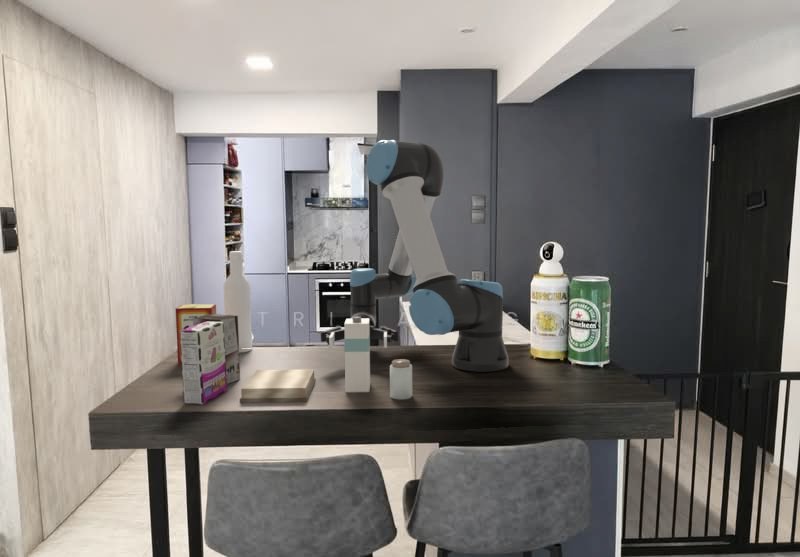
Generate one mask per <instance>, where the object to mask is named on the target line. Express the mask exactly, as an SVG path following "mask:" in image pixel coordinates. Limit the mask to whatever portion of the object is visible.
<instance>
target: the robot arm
mask: <svg viewBox="0 0 800 557" xmlns="http://www.w3.org/2000/svg"><path fill="white" fill-rule="evenodd" d="M367 156H368V157H367V160H366V165H365V166H366V167H365V169H366V175H367V178H368V180H369V181H370V182H371V183H372V184H374V185H375V186H377V185H379V186H380V187H379V188H380V190H381V193H382V195H383V197H384V198H386V199H389V201H390V202H391V206H392V210H393V212H394V215H395V219H396V223H397V225H398V228H399V230H398V233H397V237H396V240H395V244H394V248H393V251H392V255H391V258H390V261H389V262H390V263H389V265H388V269H387V271H386V273H376V270H375V269H374V268H367V267H366V268H365V267H364V268H361V267H360V268H354V269H352V270H351V271H350V276H349V277H350V280H349V285H350V288H349V290H350V318H353V317H361V318H369V326H370V340H380V341H383V348H384V349H386V348H387V347H388V343H392V341H393V342H398V341H399V331H397V330H396V329H393V328H389V327H387V326H386V325H381V326H380V327H379V328H377V327H376V324H377V310H376V308H377V300H379V299H380V300H381V299H387V298H388V299H389V298H398V297H399V298H402V297H405V296H410V295H411V296H410V298H409V305H408V310H409V315H410V319H411V320H412V323H413V324H414V326H415V327H416V328H417V329H418V330H419V331H420V332H422V333H424V334H426V335H429V336H435V335H436V336H441V335H442V336H443V335H446V334H449V333H455V332H458V338H457V340H456V343H455V347H454V351H453V353H452V356H451V365H452V366H453V367H454V368H456V369H458V370H461V371H462V370H463V371H467V372H468V371H469V372H480V373H481V372H482V373H487V372H489V373H490V372H498V371H502V370H506V369H508V367H509V360H510V359H509V358H510V357H509V355H508V352H507V348H506V345H505V342H504V338H503V318H504V317H503V313H504V308H503V307H504V295H503V286H502V285H501V283H499V282H495V281H494V282H493V281H486V280H478V279H477V280H476V279H465V278H461V279H460V280H459V282H458V280H457V276H456V274H454V273H453V272H450V271H449V270H448V268H447V264H446V262H445V261H446V260H445V258H444V255H443V252H442V250H441V247H440V243H439V241H438V240H439V239H438V238H437V235H436V231H435V228H434V224H433V222H432V218H431V213H432V209H433V205H434V203H435V200H436V199H437V198H439V197H440V196H441V192H442V189H443V185H444V178H445V173H444V172H445V171H444V164H443V161H442V157H441V156H440V154H439V153H438V151H437V150H436V149H435V148H433V147H432V146H431V145H430V144H427V143H424V142H411V141H409V142H408V141H399V140H395V139H389V140H388V139H387V140H385V139H382V140H378V141H377V142H375V144H373V146H372V148H370V150H369V153H368V155H367ZM344 339H345V332H344V328H342V326H341V325H336V326H335V327H332V328H329V329H326V330H323V331H320V342H322V343H324V342H325V343H326V344H327V346H328V347H329V348H328V349H333V347H334V345H335V342H338V341H341V340H344Z"/></svg>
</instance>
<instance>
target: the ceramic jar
mask: <svg viewBox="0 0 800 557" xmlns="http://www.w3.org/2000/svg"><path fill="white" fill-rule="evenodd" d="M389 397H390V398H391V399H393V400H400V401H401V400H409V399H411V398H412V397H413V365H412V364H411V361H410V359H404V358H402V359H401V358H399V359H393V360H391V364H390V365H389Z"/></svg>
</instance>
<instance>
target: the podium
mask: <svg viewBox="0 0 800 557" xmlns="http://www.w3.org/2000/svg"><path fill="white" fill-rule="evenodd" d="M315 381H317V379H316V377H315V369H312V368H311V369H310V368H309V369H308V368H307V369H256V370H255V372H254V373H253V374H252V375H251V376H250V377H249V379H248V380H247V381H246V382H245V383H244V384H243V386H242V387H241V389H240V390H241V392H240V394H241V396H240V398H239V403H240V402H242V403H299V402H300V403H302V402H303V403H305V402H306V403H307V402H308V400H309V398H310V396H311V393H312V390H313V388H314V387H315V384H316V382H315Z"/></svg>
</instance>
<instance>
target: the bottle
mask: <svg viewBox="0 0 800 557" xmlns="http://www.w3.org/2000/svg"><path fill="white" fill-rule="evenodd" d="M228 257H229V272H230V274H229V275H228V276H227V278H226V279H225V280H224V284H223V305H224V306H223V307H224V309H223V310H224V315H233V316H238V336H239V354H240V353H241V352H242V353H248V352H251V351H252V350H253V332H252V299H251V298H252V297H251V295H252V293H251V283H250V281H249V279H248V278H247V277H246V276H245V275H244V274H243V273H244V272H243V252H242V251H240V250H232V251H229V255H228ZM242 348H252V349H242Z"/></svg>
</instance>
